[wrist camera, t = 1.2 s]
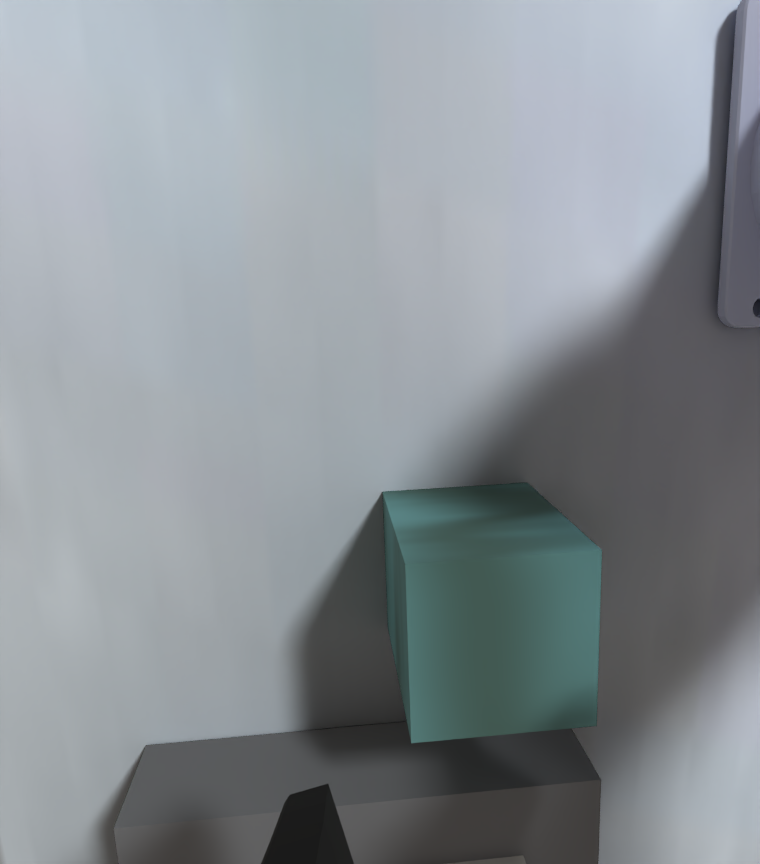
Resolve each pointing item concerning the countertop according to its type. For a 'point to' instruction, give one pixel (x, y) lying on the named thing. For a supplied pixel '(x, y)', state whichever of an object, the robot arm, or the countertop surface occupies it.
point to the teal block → (490, 612)
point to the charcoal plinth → (368, 797)
